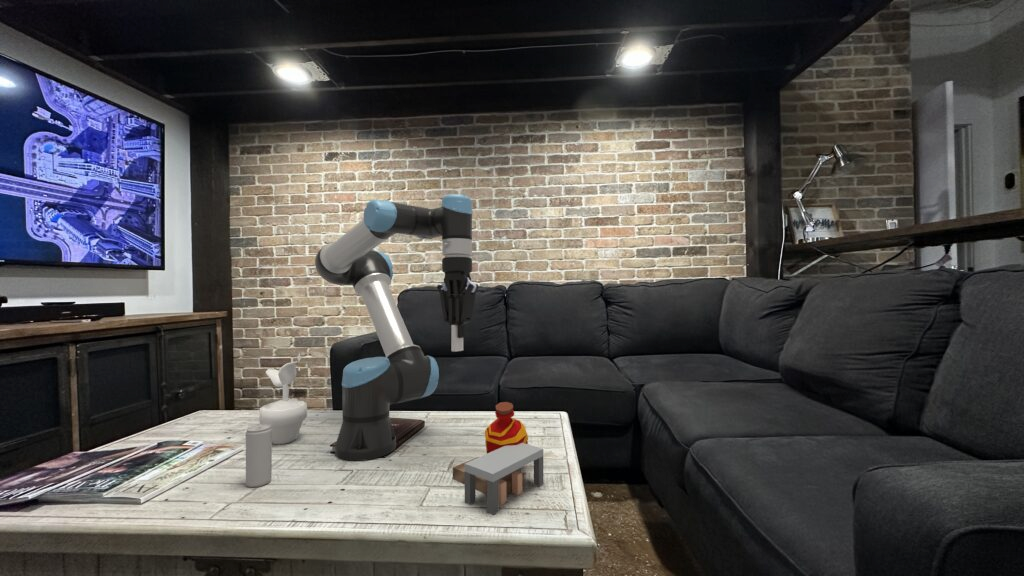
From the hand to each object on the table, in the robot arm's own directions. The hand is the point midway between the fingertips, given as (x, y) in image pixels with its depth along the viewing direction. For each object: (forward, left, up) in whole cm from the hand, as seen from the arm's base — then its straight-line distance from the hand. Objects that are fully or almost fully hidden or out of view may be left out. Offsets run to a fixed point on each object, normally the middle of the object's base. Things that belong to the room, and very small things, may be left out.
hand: (457, 350), depth 104 cm
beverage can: (-23, -37, -27) cm, 51 cm away
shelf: (+22, -7, -26) cm, 35 cm away
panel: (+16, -6, -27) cm, 32 cm away
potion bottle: (+14, +3, -26) cm, 29 cm away
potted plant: (-47, -23, -27) cm, 58 cm away
